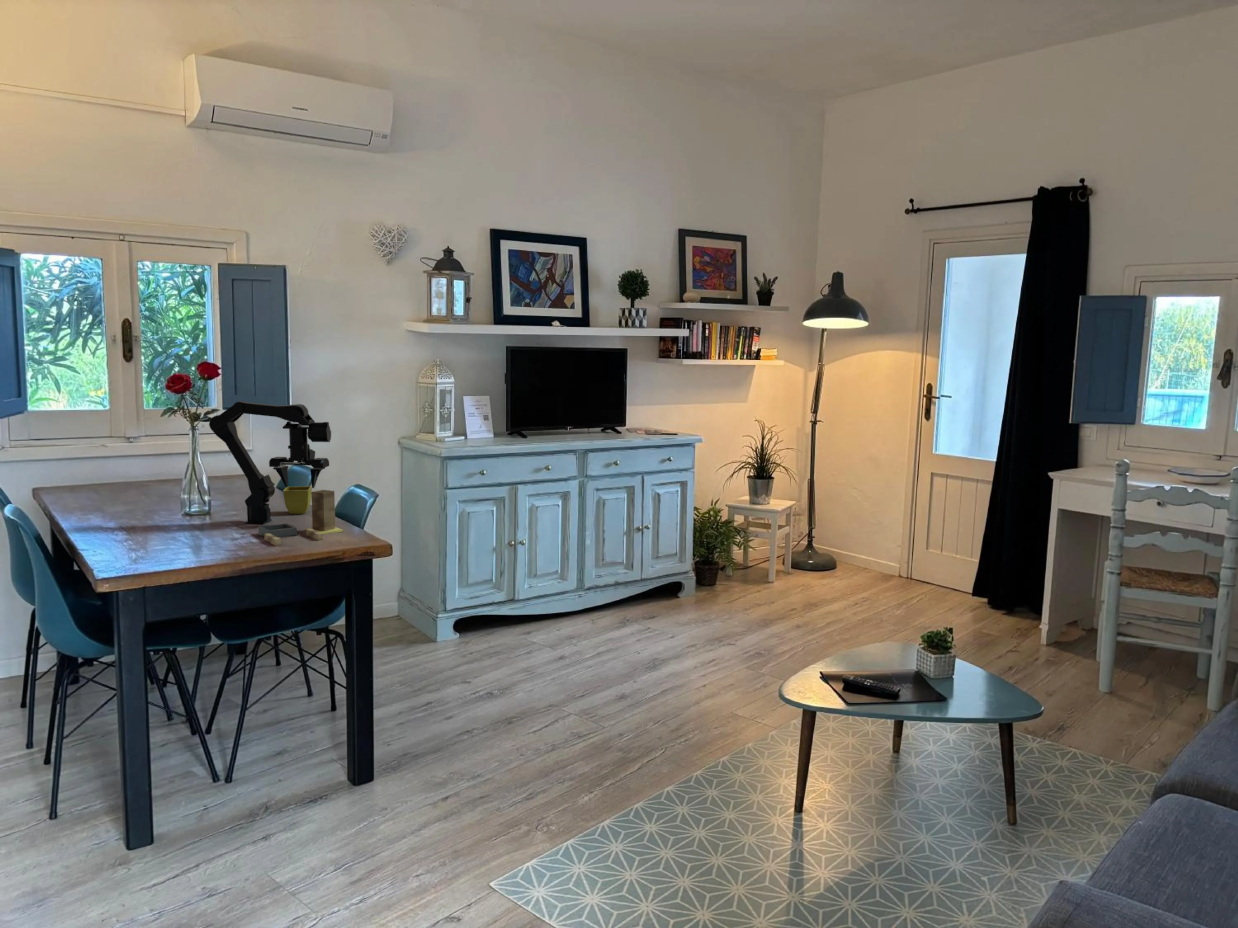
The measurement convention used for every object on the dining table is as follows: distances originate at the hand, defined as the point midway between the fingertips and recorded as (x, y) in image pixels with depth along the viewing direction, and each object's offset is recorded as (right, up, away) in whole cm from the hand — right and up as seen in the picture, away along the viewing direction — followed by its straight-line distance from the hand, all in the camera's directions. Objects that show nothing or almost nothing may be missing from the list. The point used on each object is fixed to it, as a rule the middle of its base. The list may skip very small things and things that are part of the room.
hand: (300, 487), depth 304 cm
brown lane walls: (+7, -16, -25) cm, 30 cm away
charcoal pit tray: (-1, -15, -18) cm, 23 cm away
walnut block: (+12, -13, -11) cm, 21 cm away
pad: (+12, -14, -11) cm, 21 cm away
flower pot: (-7, -10, +18) cm, 22 cm away
